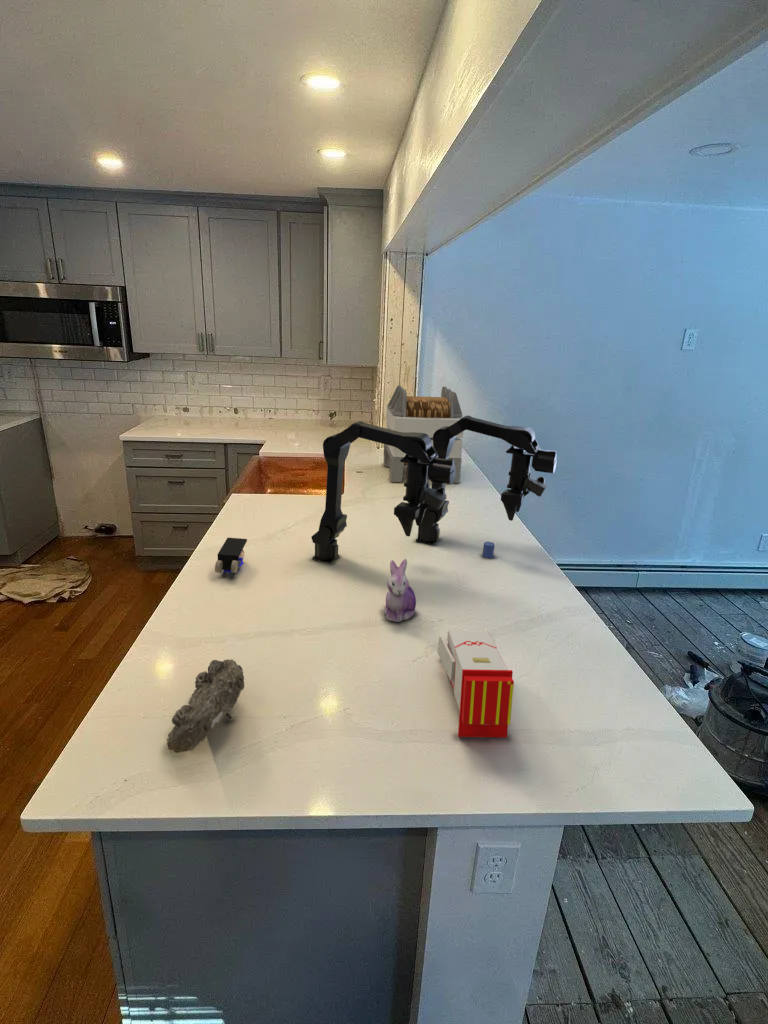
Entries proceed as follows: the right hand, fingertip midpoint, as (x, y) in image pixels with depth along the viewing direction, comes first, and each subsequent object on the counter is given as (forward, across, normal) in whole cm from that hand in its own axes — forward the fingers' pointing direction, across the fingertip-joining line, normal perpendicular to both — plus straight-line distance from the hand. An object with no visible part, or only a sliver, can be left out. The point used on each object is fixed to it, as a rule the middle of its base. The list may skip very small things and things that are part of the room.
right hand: (513, 515), depth 180 cm
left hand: (0, -29, +23) cm, 37 cm away
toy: (+14, -73, -8) cm, 75 cm away
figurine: (+14, -51, +17) cm, 55 cm away
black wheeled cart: (+15, -51, +71) cm, 88 cm away
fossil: (+14, -104, +34) cm, 110 cm away
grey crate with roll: (+14, +78, +61) cm, 100 cm away
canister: (+14, -3, +6) cm, 16 cm away
